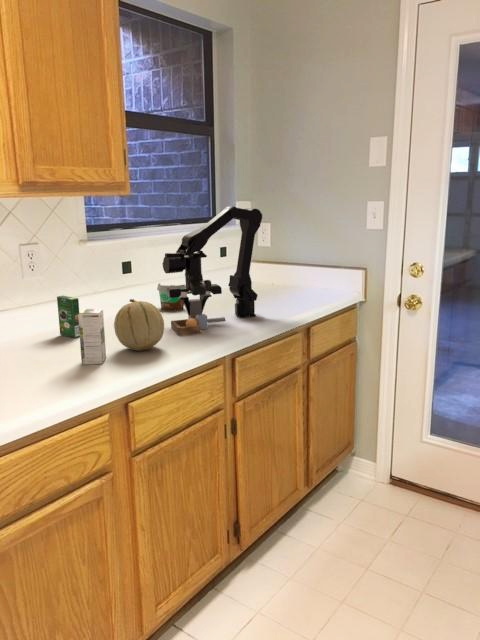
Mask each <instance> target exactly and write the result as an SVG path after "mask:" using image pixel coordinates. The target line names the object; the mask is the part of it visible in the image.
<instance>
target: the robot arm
mask: <svg viewBox="0 0 480 640" xmlns="http://www.w3.org/2000/svg"><path fill="white" fill-rule="evenodd" d="M233 219H234V220H238V221H239V227H240V231H241V238H240V244H239V251H238V258H237V264H236V271H235V272H234V274H231V275H229V283H228V285H227V286H228V287H229V291H230V293H231V294H232V295H233V298H234V299H235V303H234V315H235V316H237V317H238V318H250V317H257V314H255V312H256V311H255V309H256V308H255V302H256V301H257V299H258V293H257V292H255V291H254V290H253V289H252V288H253V287H252V283H253V282H252V278H251V273H250V271H251V264H252V263H251V262H252V257H253V251H254V242H255V237H256V233H257V232H258V230H259V229H260V227H261V225H262V224H261V223H262V220H263V213H262V212H261V210H260V209H258V208H240V207H237V206H234V205H233V206H229V205H228V206H226V207H225V208H224V209H223V210H221V211H220V212H219V213H218V214H217V215H216V216H214V217H213V218H212V219H210V220H209V221H207V222H206V223H205V224H204V225H203V226H201V227H200V228H198V229H196V230H193V231H191V232H188V233H187V234H184V236H183V237H182V238H181V242H180V245H179V247H178V248H177V250H176V252H173V253H171V252H164V257H163V261H162V269H163V271H164V273H165V274H175V273H176V274H177V273H183V271H184V276H185V277H184V278H185V280H184V281H185V288H186V289H180V288H178V287H169V288H167V290H166V293H167V296H168V297H169V298H175V297H178V298H179V299H181V300H182V302H183V304H184V308H185V310H186V313H187V315H190V309H189V300H190V299H189V298H190V297H188V294H189V295H192V296H195V297H196V296H199V299H200V300H201V302H202V313H203V312H204V309H205V305H206V302H207V300H208V299H209V298H211V297H212V295H221V294H222V293H223V290H222V287H221V286H220V285H219V284H217V283H213V284H212V280H211V279H205V280H204V277H203V274H202V271H203V270H202V259H203V258H207V257H208V255H207V254H205V253H204V251H203V248H204V247H205V246H206V245H207V243H208V242H209V240H210V238H211V237H213V235H214V234H216V233H217V232H218V231H220V230H221V229H222V228H223V227H225V226H226V225H227V224H229V222H231V221H232V220H233ZM211 293H212V294H211Z"/></svg>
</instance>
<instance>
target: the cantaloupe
mask: <svg viewBox="0 0 480 640" xmlns="http://www.w3.org/2000/svg"><path fill="white" fill-rule="evenodd" d="M129 302H130V303H127V304H125V305H123V306H122V307H120V309H119V310H118V311H117V313H116V315H115V317H114V323H113V328H114V334H115V336H116V339H118V341H119V343H120V344H121V345H122V346H124V347H125V348H127V349H129V350H133V351H139V352H140V351H142V352H145V351H146V350H148V349H151V348H152V347H155V346H156V345H157V344H158V343H159V342H160V341H161V340H162V339H163V335H164V332H165V320H164V317H163V315H162V313H161V311H160V310H159V309H158V308H157V307H156V306H155V305H154V304H153V303H151V302H148V301H144V300H143V301H142V300H141V301H139V300H138V301H137V300H135V299H133V298H130V299H129Z"/></svg>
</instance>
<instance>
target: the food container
mask: <svg viewBox="0 0 480 640" xmlns="http://www.w3.org/2000/svg"><path fill="white" fill-rule="evenodd" d="M185 285H186V283H184V284H179V285H174V284H170V285H169V284H167V285H161V283H160V282H159V283H158V284H157V286H156V287H157V288H156V290H157V291H158V293H159V294H158V295H159V300H160V307H161V310H162V311H168V312H169V311H181V310H184V308H185V306H184V304H183V302H182V300H181V299H179V298H178V297H175V298H169V297H168V296H167V293H166V290H167V288H169V287H178V288H180V289H186V288H185Z"/></svg>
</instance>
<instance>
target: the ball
mask: <svg viewBox="0 0 480 640" xmlns="http://www.w3.org/2000/svg"><path fill="white" fill-rule="evenodd" d="M195 325H198V323H197V321H196V320H195V319H194V318H190V319H188V320H187V321H186V326H195Z"/></svg>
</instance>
